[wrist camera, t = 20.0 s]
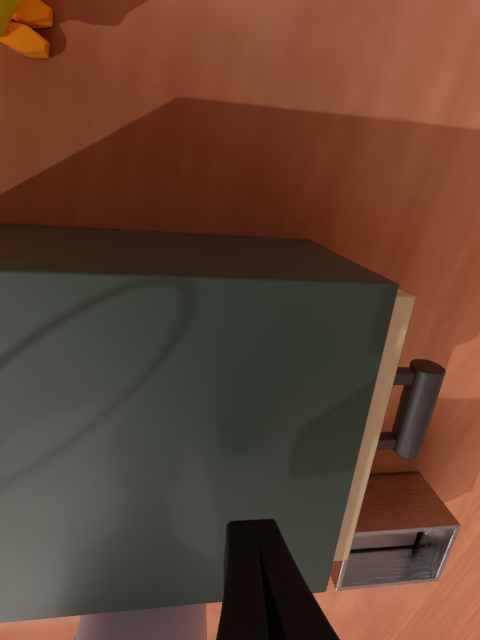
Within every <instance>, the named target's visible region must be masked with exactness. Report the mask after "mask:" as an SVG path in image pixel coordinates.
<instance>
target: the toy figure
mask: <svg viewBox="0 0 480 640" xmlns="http://www.w3.org/2000/svg"><path fill="white" fill-rule="evenodd" d="M11 19H14V20H16V21H18V22H20V23H17V22H10V21H11ZM21 23H22V24H21ZM30 27H32V28H36V29H37V28H46V27H53V11H52V9H51V8H50V7H49V6H47V5H46V4H45V3H43V2H42V1H41V0H0V42H1V43H3V44H5V45H7V46H8V47H10V48H12V49H13V50H15V51H17V52H19V53H20V54H22V55H25V56H27V57H30V58H49V52H50V43H49V42H48V41H47V40H45V39H44V38H43V37H42V36H40V35H39V34H38V33H37V32H35V31H34V30H33V29H32V28H30Z"/></svg>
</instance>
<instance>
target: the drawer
mask: <svg viewBox="0 0 480 640" xmlns="http://www.w3.org/2000/svg"><path fill="white" fill-rule="evenodd" d="M414 301H415V296H413V295H411V294H409V293H407V292H405V291H403V290H401V289H399V288H398V292H397V296H396V301H395V305H394V309H393V313H392V317H391V322H390V326H389V330H388V334H387V338H386V343H385V347H384V351H383V355H382V359H381V363H380V368H379V372H378V376H377V380H376V384H375V389H374V393H373V397H372V401H371V405H370V409H369V414H368V418H367V422H366V426H365V430H364V435H363V439H362V443H361V447H360V451H359V455H358V460H357V464H356V468H355V472H354V476H353V481H352V485H351V489H350V493H349V497H348V501H347V506H346V510H345V514H344V518H343V522H342V527H341V531H340V535H339V539H338V543H337V547H336V552H335V556H334V560H333V561H342V560H347V559H348V556H349V552H350V548H351V544H352V540H353V536H354V533H355V529H356V525H357V521H358V517H359V513H360V509H361V506H362V502H363V498H364V494H365V490H366V486H367V483H368V479H369V475H370V471H371V467H372V463H373V459H374V456H375V452H376V450H392V451H394V452H395V453H396V454H398V455H400V456H402V457H405V458H416V457H418V456H419V454H420V451H421V448H422V445H423V442H424V439H425V436H426V433H427V429H428V426H429V423H430V420H431V417H432V414H433V410H434V407H435V404H436V401H437V398H438V395H439V392H440V388H441V385H442V382H443V379H444V376H445V369H444V368H443V367H442V366H441V365H439V364H437V363H435V362H432V361H428V360H423V359H415V360H412V361H411V362H410V365H409V368H408V367H398V363H399V359H400V355H401V352H402V348H403V344H404V340H405V336H406V332H407V328H408V325H409V321H410V317H411V313H412V309H413V305H414ZM393 385H404V387H403V391H402V395H401V398H400V402H399V406H398V409H397V413H396V417H395V420H394V424H393V428H392V431H391V432H381V429H382V425H383V421H384V417H385V413H386V409H387V405H388V402H389V398H390V394H391V390H392V386H393Z"/></svg>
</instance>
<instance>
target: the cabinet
mask: <svg viewBox="0 0 480 640" xmlns="http://www.w3.org/2000/svg"><path fill="white" fill-rule="evenodd" d="M398 288H399V285H398V284H397V283H395V282H393V281H391V280H389V279H387V278H385V277H383V276H381V275H379V274H377V273H375V272H373V271H371V270H369V269H366V268H364V267H362V266H360V265H358V264H356V263H354V262H352V261H350V260H348V259H346V258H344V257H342V256H340V255H338V254H336V253H334V252H332V251H330V250H328V249H326V248H324V247H322V246H320V245H318V244H316V243H313V242H312V241H310V240H301V239H282V238H264V237H245V236H227V235H208V234H190V233H171V232H153V231H134V230H116V229H97V228H79V227H60V226H42V225H23V224H5V223H0V623H3V622H14V621H24V620H35V619H45V618H56V617H66V616H77V615H88V614H98V613H109V612H119V611H130V610H140V609H151V608H161V607H172V606H182V605H193V604H204V603H214V602H223V593H224V573H223V564H224V551H225V539H226V526H227V523H229V522H230V521H237V520H255V519H272V518H273V519H274V520H275V521H276V522H277V525H278V527H279V529H280V532H281V534H282V536H283V538H284V540H285V542H286V545H287V547H288V549H289V551H290V553H291V555H292V557H293V559H294V561H295V563H296V565H297V567H298V569H299V570H300V572H301V574H302V576H303V578H304V580H305V582H306V583H307V585H308V587H309V589H310V590H311V592H312V593H319V592H326V589H327V585H328V581H329V577H330V573H331V568H332V564H333V560H334V556H335V552H336V547H337V543H338V539H339V535H340V531H341V527H342V522H343V518H344V514H345V510H346V506H347V501H348V497H349V493H350V489H351V485H352V481H353V476H354V472H355V468H356V464H357V460H358V455H359V451H360V447H361V443H362V439H363V435H364V430H365V426H366V422H367V418H368V414H369V409H370V405H371V401H372V397H373V393H374V389H375V384H376V380H377V376H378V372H379V368H380V363H381V359H382V355H383V351H384V347H385V343H386V338H387V334H388V330H389V326H390V322H391V317H392V313H393V309H394V305H395V301H396V296H397V292H398Z"/></svg>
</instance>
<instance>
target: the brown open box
mask: <svg viewBox="0 0 480 640" xmlns="http://www.w3.org/2000/svg"><path fill="white" fill-rule="evenodd" d="M460 527H461V525H460V524H459V522H458V521H457V520H456V518H455V517H454V516H453V515H452V513H451V512H450V511H449V510H448V508H447V507H446V506H445V504H444V503H443V502H442V501H441V499H440V498H439V497H438V495H437V494H436V493H435V492H434V490H433V489H432V488H431V487H430V485H429V484H428V483H427V481H426V480H425V479H424V478H423V476H422V475H421V474H420V473H419V472H407V473H385V474H370V475H369V479H368V483H367V486H366V490H365V494H364V498H363V502H362V506H361V509H360V513H359V517H358V521H357V525H356V529H355V533H354V536H353V540H352V544H351V548H350V552H349V556H348V559H347V560H342V561H333V564H332V568H331V573H330V575H331V578H332V581H333V584H334V587H335V590H336V591H339V590H349V589H360V588H370V587H381V586H391V585H402V584H412V583H423V582H433V581H439V578H440V576H441V573H442V571H443V568H444V566H445V564H446V561H447V559H448V556H449V554H450V551H451V549H452V546H453V544H454V541H455V539H456V536H457V534H458V531H459V529H460Z"/></svg>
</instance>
